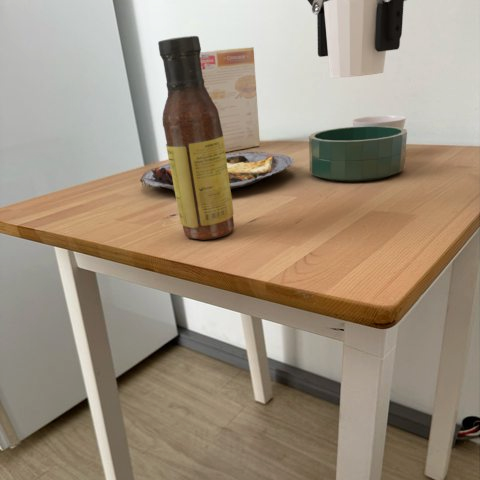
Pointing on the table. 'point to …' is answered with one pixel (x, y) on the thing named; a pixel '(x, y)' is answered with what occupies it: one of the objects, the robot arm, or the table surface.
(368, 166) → the green round tub
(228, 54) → the coffeecake box
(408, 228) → the table surface
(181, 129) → the sauce bottle
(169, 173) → the food plate
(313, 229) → the table surface
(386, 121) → the pale round bowl
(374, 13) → the white faceted cup
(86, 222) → the table surface
